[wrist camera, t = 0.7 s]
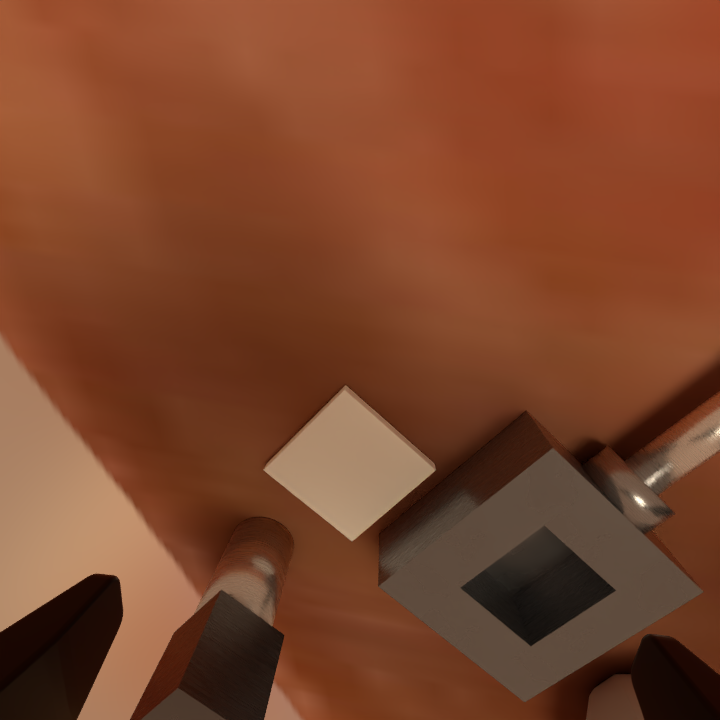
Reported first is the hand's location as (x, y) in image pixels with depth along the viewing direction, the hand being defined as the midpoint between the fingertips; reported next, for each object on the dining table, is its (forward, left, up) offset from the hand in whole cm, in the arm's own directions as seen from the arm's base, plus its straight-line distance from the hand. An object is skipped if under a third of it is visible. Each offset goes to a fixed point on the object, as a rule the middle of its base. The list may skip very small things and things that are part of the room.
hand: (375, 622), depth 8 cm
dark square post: (-2, +12, -14) cm, 18 cm away
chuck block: (-11, -3, -14) cm, 18 cm away
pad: (-2, +5, -14) cm, 15 cm away
